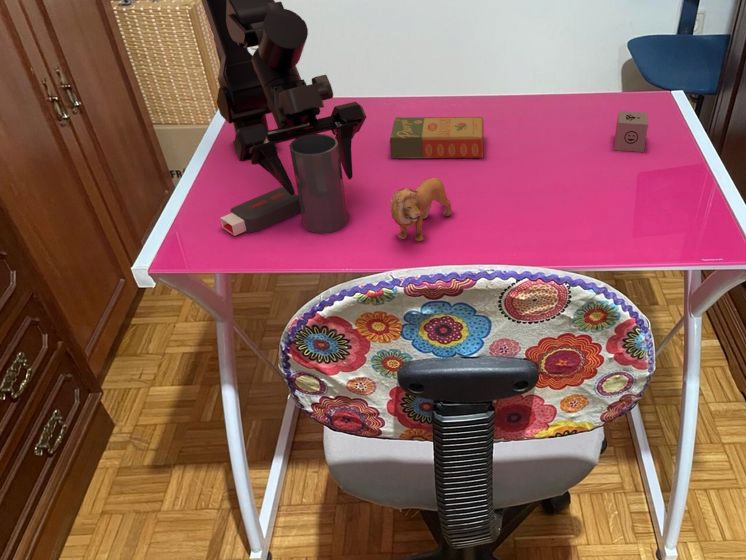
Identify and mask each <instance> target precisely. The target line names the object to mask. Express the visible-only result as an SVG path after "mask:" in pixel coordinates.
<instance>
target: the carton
mask: <svg viewBox="0 0 746 560" xmlns="http://www.w3.org/2000/svg"><path fill="white" fill-rule="evenodd" d="M391 129H392V130H391V133H390V136H389V149H390V157H391V158H392V159H439V158H440V159H458V158H459V159H462V158H464V159H466V158H467V159H469V158H470V159H475V158H477V159H478V158H483V157H484V117H483V116H433V117H432V116H420V117H419V116H418V117H417V116H416V117H411V116H410V117H399V116H396V117H394V121H393V125H392V128H391Z"/></svg>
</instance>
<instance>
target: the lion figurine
mask: <svg viewBox="0 0 746 560" xmlns="http://www.w3.org/2000/svg"><path fill="white" fill-rule="evenodd" d="M433 201H436V202H437V203H439V204H440V205H441V206H444V207H445V210H444V211H443V215H444V216H446V217H450V216H452V202H451V199H449V198H448V196H447V194H446V188H445V184H444V183H443V181H442V180H441V179H440V178H438V177H433V178H426V179H424V180H423V181H422V182H421V183H420V185H419V186H418V187H416V188H415V189H414V190H413V189H412V188H410V187H408V188H406V187H403V188H400V189H398V190H397V191H395V192H394V193H393V194H392V197H391V199H390V213H391V217H392V219H393V220H394V222H395V223H396V224H397V225H398V226H399V229H400V232H399V233H398V235H397V237H398V239H400V240H405V239H406V238H407V235H408V228H410V227H412V226H414V225H415V230H414V236H415V237H414V241H416V242H423V241H424V233H423V222H424V221H423V220H424V219H427V218H428V216H429V213H430V211H431V208H432V202H433Z"/></svg>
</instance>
